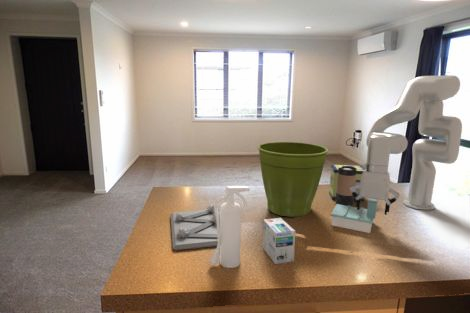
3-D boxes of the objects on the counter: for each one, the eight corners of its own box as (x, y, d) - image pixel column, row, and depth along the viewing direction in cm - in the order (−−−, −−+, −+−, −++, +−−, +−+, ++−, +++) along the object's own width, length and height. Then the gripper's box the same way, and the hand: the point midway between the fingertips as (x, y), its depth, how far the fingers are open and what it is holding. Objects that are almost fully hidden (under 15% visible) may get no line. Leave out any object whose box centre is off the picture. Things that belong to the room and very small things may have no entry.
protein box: (328, 192, 162) (330, 164, 158) (359, 194, 159) (362, 165, 156) (331, 199, 151) (334, 169, 148) (364, 201, 149) (368, 170, 146)
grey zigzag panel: (170, 217, 131) (169, 201, 129) (220, 213, 136) (220, 197, 134) (173, 253, 102) (172, 233, 101) (235, 246, 107) (235, 227, 105)
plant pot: (294, 230, 118) (299, 158, 112) (242, 207, 140) (243, 146, 134) (336, 211, 137) (341, 148, 131) (284, 193, 159) (287, 139, 153)
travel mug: (354, 215, 133) (358, 170, 129) (335, 213, 134) (339, 169, 130) (351, 208, 140) (355, 166, 136) (333, 207, 142) (337, 165, 137)
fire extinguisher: (204, 260, 97) (207, 185, 91) (240, 254, 102) (244, 182, 96) (211, 272, 91) (214, 192, 85) (248, 265, 96) (253, 189, 90)
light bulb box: (294, 261, 97) (296, 230, 95) (274, 265, 95) (276, 233, 93) (280, 245, 107) (281, 216, 105) (262, 248, 105) (263, 218, 103)
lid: (336, 205, 130) (337, 190, 129) (376, 212, 123) (378, 196, 122) (330, 215, 120) (332, 199, 118) (374, 224, 113) (376, 206, 111)
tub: (336, 217, 131) (337, 206, 130) (372, 224, 124) (373, 212, 123) (331, 227, 121) (332, 215, 120) (369, 235, 115) (371, 223, 114)
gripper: (350, 167, 115) (346, 210, 119) (402, 173, 107) (396, 219, 111) (353, 163, 122) (349, 203, 125) (402, 168, 114) (397, 212, 117)
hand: (371, 211), depth 118 cm, fingers open, 9 cm apart
